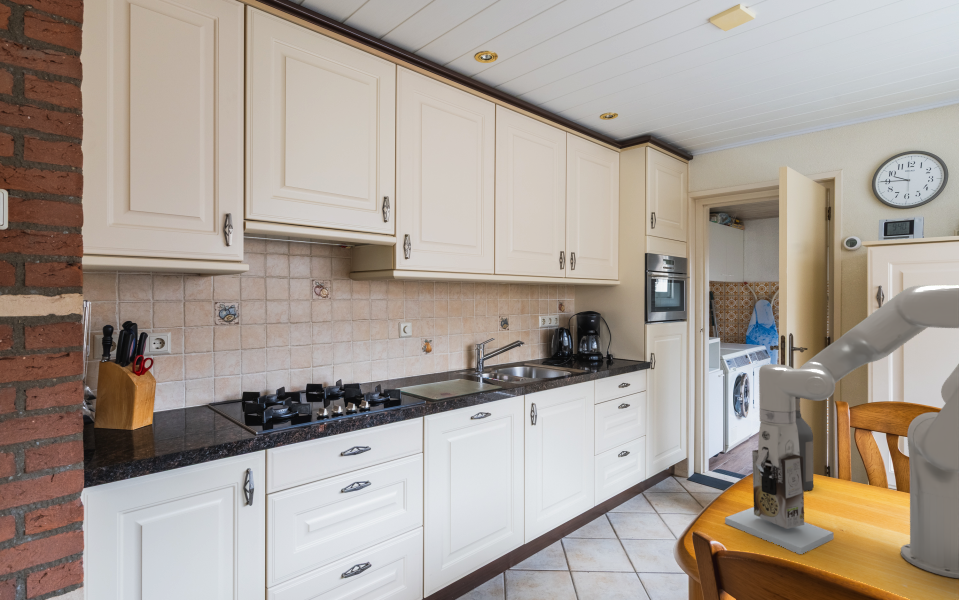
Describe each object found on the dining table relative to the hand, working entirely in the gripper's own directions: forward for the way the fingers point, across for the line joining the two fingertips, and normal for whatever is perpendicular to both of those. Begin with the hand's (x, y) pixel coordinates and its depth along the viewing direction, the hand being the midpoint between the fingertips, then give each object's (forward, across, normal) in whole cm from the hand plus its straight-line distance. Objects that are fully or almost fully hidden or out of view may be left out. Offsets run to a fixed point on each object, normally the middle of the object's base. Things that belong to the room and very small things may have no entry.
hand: (778, 489), depth 123 cm
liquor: (+10, +34, +14) cm, 38 cm away
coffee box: (+8, 0, 0) cm, 8 cm away
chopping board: (+10, 0, 0) cm, 10 cm away
